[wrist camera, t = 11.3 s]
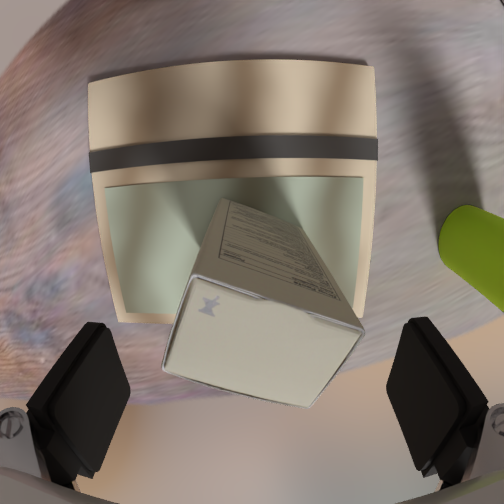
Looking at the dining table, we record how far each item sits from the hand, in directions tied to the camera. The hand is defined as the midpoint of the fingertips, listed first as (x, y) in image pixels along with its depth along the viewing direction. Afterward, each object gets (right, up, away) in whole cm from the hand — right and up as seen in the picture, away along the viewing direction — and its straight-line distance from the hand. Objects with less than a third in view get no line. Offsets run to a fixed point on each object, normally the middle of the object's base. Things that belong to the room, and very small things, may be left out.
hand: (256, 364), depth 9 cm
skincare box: (0, +4, +12) cm, 13 cm away
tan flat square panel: (-2, +7, +12) cm, 14 cm away
